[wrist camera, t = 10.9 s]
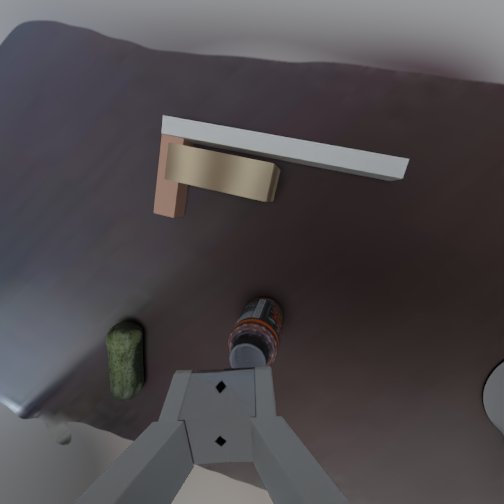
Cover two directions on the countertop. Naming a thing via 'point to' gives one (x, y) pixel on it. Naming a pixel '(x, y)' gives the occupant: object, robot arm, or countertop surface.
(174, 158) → the long beige block
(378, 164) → the board
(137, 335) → the vegetable
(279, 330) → the supplement bottle
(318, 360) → the countertop surface
